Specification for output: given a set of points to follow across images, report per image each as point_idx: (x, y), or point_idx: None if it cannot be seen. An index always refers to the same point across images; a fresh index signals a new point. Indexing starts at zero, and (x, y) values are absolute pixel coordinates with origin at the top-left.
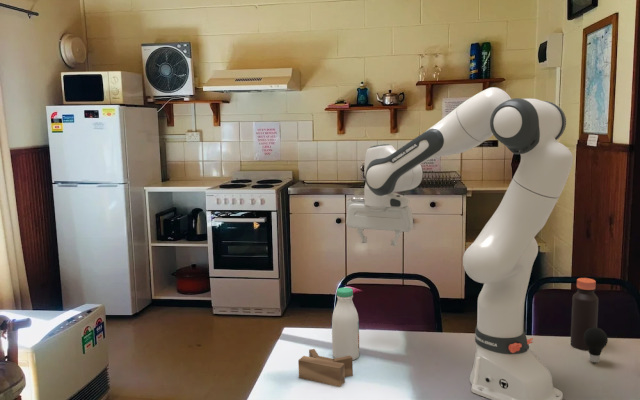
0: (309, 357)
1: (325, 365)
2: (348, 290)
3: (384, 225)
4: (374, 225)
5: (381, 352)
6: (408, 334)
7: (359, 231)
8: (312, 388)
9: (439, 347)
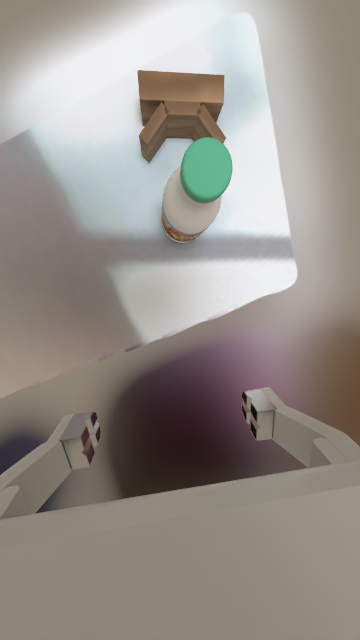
0: (210, 98)
1: (167, 72)
2: (192, 159)
3: (59, 591)
4: (214, 546)
5: (140, 258)
6: (132, 335)
7: (330, 439)
8: None
9: (73, 312)
